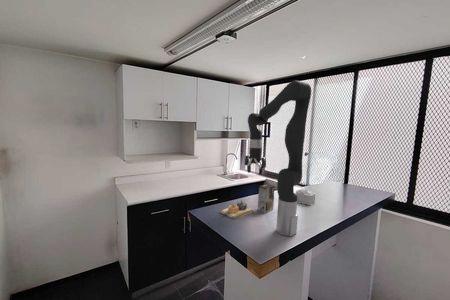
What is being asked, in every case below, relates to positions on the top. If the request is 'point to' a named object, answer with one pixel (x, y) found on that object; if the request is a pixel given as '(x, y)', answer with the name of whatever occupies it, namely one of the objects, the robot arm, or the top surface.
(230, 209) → the gear
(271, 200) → the coffee box
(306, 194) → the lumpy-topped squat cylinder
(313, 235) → the top surface
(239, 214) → the gear board
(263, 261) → the top surface
